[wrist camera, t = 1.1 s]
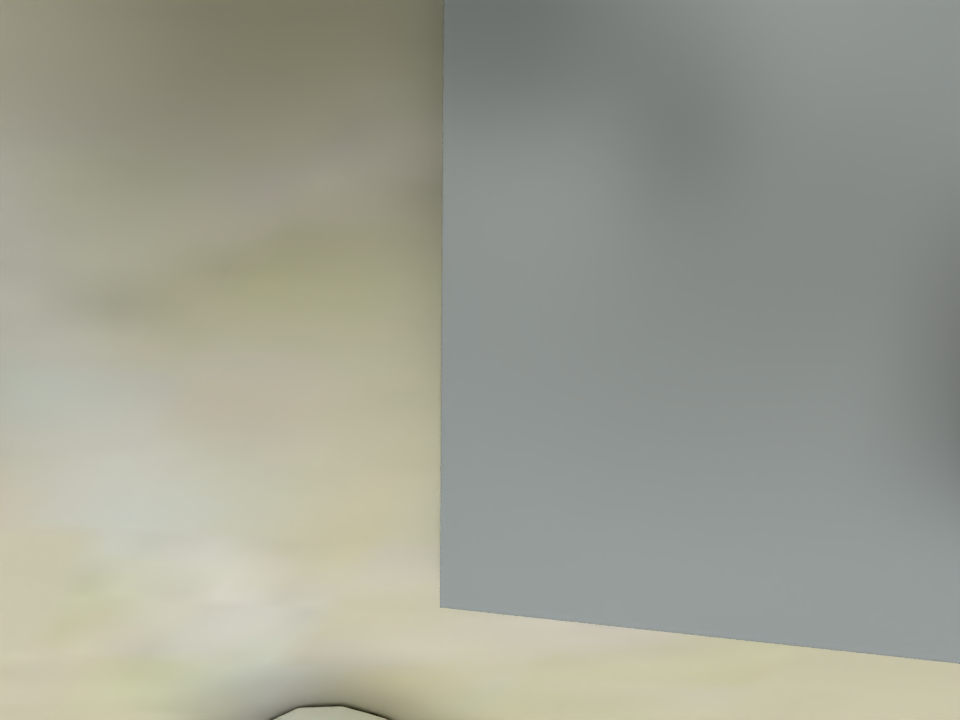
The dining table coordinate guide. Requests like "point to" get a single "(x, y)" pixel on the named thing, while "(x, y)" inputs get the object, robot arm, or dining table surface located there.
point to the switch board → (704, 318)
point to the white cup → (328, 714)
